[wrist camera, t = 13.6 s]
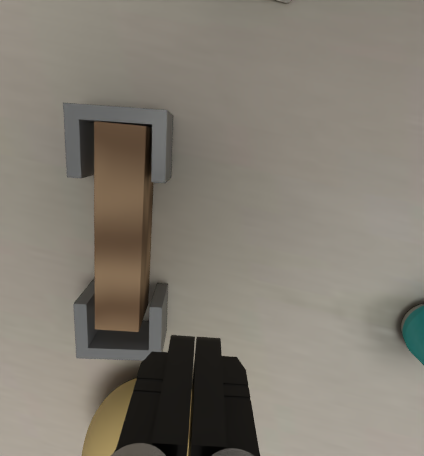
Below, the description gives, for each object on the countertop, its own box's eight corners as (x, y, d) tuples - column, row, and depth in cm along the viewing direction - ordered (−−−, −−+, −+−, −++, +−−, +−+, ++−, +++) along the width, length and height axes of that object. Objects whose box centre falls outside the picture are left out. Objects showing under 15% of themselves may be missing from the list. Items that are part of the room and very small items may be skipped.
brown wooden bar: (113, 125, 26) (94, 121, 22) (156, 129, 27) (145, 126, 22) (111, 300, 30) (94, 329, 26) (148, 302, 31) (138, 331, 26)
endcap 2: (166, 330, 31) (160, 361, 27) (94, 328, 31) (76, 358, 26) (168, 283, 30) (162, 307, 26) (92, 280, 30) (73, 303, 25)
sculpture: (209, 452, 35) (212, 582, 25) (99, 444, 34) (55, 574, 24) (223, 364, 32) (233, 469, 22) (104, 354, 32) (55, 456, 21)
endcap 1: (86, 109, 26) (63, 102, 21) (173, 115, 26) (167, 109, 22) (88, 172, 27) (67, 177, 23) (171, 177, 27) (165, 183, 23)
